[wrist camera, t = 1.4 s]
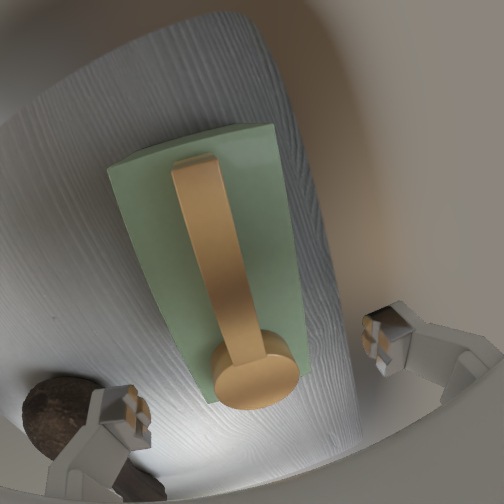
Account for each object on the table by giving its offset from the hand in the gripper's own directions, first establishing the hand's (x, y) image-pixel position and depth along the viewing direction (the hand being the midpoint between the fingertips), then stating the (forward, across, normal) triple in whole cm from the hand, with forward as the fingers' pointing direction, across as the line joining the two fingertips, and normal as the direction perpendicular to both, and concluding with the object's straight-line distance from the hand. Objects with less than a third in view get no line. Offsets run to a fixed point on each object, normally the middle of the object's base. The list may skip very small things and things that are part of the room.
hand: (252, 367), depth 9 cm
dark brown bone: (+14, +20, +23) cm, 33 cm away
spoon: (+5, 0, +1) cm, 5 cm away
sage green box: (+13, 0, +1) cm, 13 cm away
